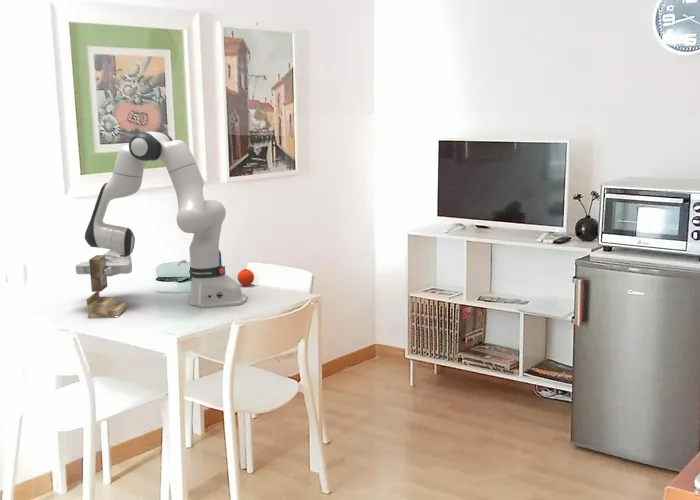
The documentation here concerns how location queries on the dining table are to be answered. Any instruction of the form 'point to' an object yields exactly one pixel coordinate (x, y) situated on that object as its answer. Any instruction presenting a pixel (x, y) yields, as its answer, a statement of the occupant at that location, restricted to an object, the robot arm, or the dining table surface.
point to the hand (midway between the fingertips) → (97, 272)
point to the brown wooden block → (98, 273)
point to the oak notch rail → (104, 306)
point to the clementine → (245, 277)
